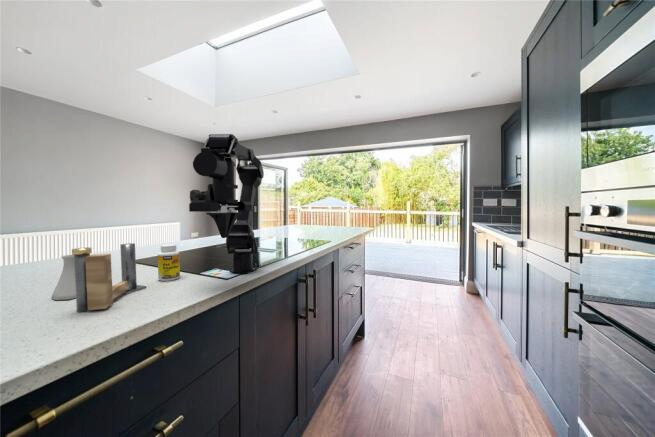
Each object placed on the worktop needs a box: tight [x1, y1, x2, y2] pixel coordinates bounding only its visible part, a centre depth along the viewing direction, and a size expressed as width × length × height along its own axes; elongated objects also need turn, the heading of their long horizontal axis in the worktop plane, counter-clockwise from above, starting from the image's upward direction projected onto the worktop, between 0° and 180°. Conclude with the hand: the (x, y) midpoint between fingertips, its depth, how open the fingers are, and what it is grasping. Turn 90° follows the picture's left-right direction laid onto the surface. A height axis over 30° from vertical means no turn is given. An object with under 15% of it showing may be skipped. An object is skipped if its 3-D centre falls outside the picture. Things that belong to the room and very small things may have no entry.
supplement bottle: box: [157, 243, 181, 282], centre depth 77 cm, size 6×6×10 cm
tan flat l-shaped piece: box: [85, 253, 129, 311], centre depth 59 cm, size 12×3×11 cm, turn 16°
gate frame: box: [71, 242, 147, 313], centre depth 61 cm, size 16×8×13 cm, turn 163°
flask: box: [50, 254, 76, 301], centre depth 63 cm, size 7×7×10 cm
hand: (224, 237), depth 71 cm, fingers closed
